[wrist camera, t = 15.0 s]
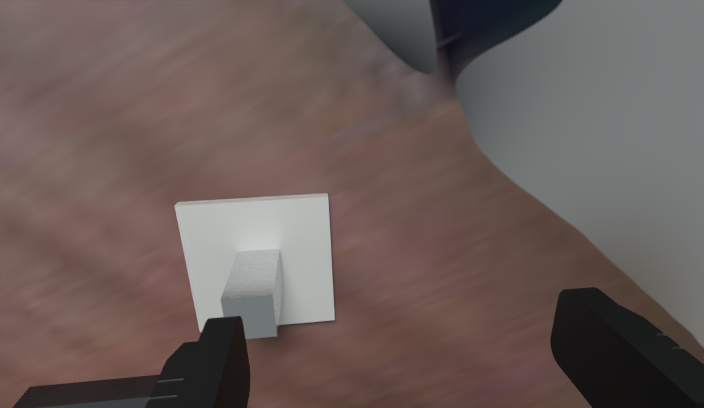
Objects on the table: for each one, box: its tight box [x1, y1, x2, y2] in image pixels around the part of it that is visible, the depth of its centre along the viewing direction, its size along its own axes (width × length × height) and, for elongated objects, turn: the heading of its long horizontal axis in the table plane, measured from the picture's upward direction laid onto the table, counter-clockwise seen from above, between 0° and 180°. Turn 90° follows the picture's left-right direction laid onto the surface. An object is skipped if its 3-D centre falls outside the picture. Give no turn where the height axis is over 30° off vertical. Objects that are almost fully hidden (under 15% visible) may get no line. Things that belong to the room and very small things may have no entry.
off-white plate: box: [175, 193, 335, 332], centre depth 40 cm, size 14×14×1 cm
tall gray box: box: [221, 249, 283, 339], centre depth 35 cm, size 4×4×8 cm
